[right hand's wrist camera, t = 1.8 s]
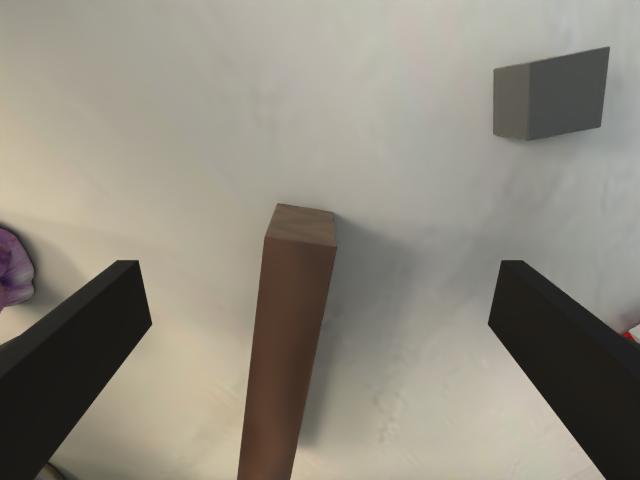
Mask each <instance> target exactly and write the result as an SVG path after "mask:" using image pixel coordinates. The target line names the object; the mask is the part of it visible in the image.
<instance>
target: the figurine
mask: <svg viewBox="0 0 640 480" xmlns="http://www.w3.org/2000/svg"><path fill="white" fill-rule="evenodd" d="M33 277H34V269H33V265H32V263H31V261H30V259H29V257H28V255H27V253H26V251H25V249H24V248H23V247H22V245H21V243H19V240H18V239H17V237H16V236H14V235H13V234H11V233H10V232H9V231H7V230H4V229H1V228H0V313H1V311H2V309H3V308H4V307H7V306H12V305H15V304H18V303H19V302H21V301H24V300H26V299H29V298H30V297H32V296H33V294H34V288H33V284H32V281H31V280H32V278H33Z"/></svg>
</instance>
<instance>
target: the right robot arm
mask: <svg viewBox="0 0 640 480" xmlns="http://www.w3.org/2000/svg"><path fill="white" fill-rule="evenodd" d="M151 325H152V321H151V316H150V312H149V307H148V302H147V298H146V293H145V288H144V284H143V279H142V275H141V270H140V265H139V261H138V260H117V261H116V262H114V263H113V264H112V265H111V266H109V267H108V268H107V269H105V270H104V271H103V272H101V273H100V274H99V275H98V276H96V277H95V278H94V279H92V280H91V281H90V282H88V283H87V284H86V285H85V286H83V287H82V288H81V289H79V290H78V291H77V292H75V293H74V294H73V295H72V296H70V297H69V298H68V299H66V300H65V301H64V302H63V303H61V304H60V305H59V306H57V307H56V308H55V309H53V310H52V311H51V312H50V313H48V314H47V315H46V316H44V317H43V318H42V319H40V320H39V321H38V322H37V323H35V324H34V325H33V326H31V327H30V328H29V329H27V330H26V331H25V332H24V333H22V334H21V335H20V336H17V337H15V338H13V339H11V340H10V341H8V342H6V343H4V344H2V345H0V480H34V479H35V478H36V476H37V475H38V474H39V472H40V471H41V470H42V468H43V467H44V466H45V464H46V463H47V462H48V460H49V459H50V458H51V457H52V455H53V454H54V453H55V451H56V450H57V449H58V447H59V446H60V445H61V443H62V442H63V441H64V439H65V438H66V437H67V436H68V434H69V433H70V432H71V430H72V429H73V428H74V426H75V425H76V424H77V422H78V421H79V420H80V418H81V417H82V416H83V415H84V413H85V412H86V411H87V409H88V408H89V407H90V405H91V404H92V403H93V401H94V400H95V399H96V397H97V396H98V395H99V394H100V392H101V391H102V390H103V388H104V387H105V386H106V384H107V383H108V382H109V380H110V379H111V378H112V376H113V375H114V374H115V372H116V371H117V370H118V369H119V367H120V366H121V365H122V363H123V362H124V361H125V359H126V358H127V357H128V355H129V354H130V353H131V351H132V350H133V349H134V348H135V346H136V345H137V344H138V342H139V341H140V340H141V338H142V337H143V336H144V334H145V333H146V332H147V330H148V329H149V328H150V327H151ZM488 325H489V327H490V328H491V329H492V330H493V332H494V333H495V334H496V336H497V337H498V338H499V340H500V341H501V342H502V344H503V345H504V346H505V348H506V349H507V350H508V351H509V353H510V354H511V355H512V357H513V358H514V359H515V361H516V362H517V363H518V365H519V366H520V367H521V369H522V370H523V371H524V373H525V374H526V375H527V376H528V378H529V379H530V380H531V382H532V383H533V384H534V386H535V387H536V388H537V390H538V391H539V392H540V394H541V395H542V396H543V397H544V399H545V400H546V401H547V403H548V404H549V405H550V407H551V408H552V409H553V411H554V412H555V413H556V415H557V416H558V417H559V418H560V420H561V421H562V422H563V424H564V425H565V426H566V428H567V429H568V430H569V432H570V433H571V434H572V436H573V437H574V438H575V439H576V441H577V442H578V443H579V445H580V446H581V447H582V449H583V450H584V451H585V453H586V454H587V455H588V457H589V458H590V459H591V460H592V462H593V463H594V464H595V466H596V467H597V468H598V470H599V471H600V472H601V474H602V475H603V476H604V478H605V479H606V480H640V344H639V343H637V342H635V341H633V340H631V339H629V338H628V337H626V336H624V335H619V334H618V333H616V332H615V331H614V330H613V329H611V328H610V327H609V326H607V325H606V324H605V323H603V322H602V321H601V320H600V319H598V318H597V317H596V316H594V315H593V314H592V313H590V312H589V311H588V310H587V309H585V308H584V307H583V306H581V305H580V304H579V303H577V302H576V301H575V300H574V299H572V298H571V297H570V296H568V295H567V294H566V293H565V292H563V291H562V290H561V289H559V288H558V287H557V286H555V285H554V284H553V283H552V282H550V281H549V280H548V279H546V278H545V277H544V276H542V275H541V274H540V273H539V272H537V271H536V270H535V269H533V268H532V267H531V266H529V265H528V264H527V263H526V262H524V261H523V260H502V261H501V265H500V270H499V275H498V279H497V284H496V288H495V293H494V298H493V302H492V307H491V312H490V316H489V321H488Z"/></svg>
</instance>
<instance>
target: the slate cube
mask: <svg viewBox="0 0 640 480" xmlns="http://www.w3.org/2000/svg"><path fill="white" fill-rule="evenodd" d="M609 51H610V47H603V48H598V49H592V50H587V51H582V52H576V53H571V54H566V55H560V56H555V57H550V58H545V59H540V60H535V61H530V62H525V63H520V64H515V65H510V66H505V67H500V68H495V69H494V131H493V134H494V135H500V136H505V137H510V138H515V139H521V140H526V141H529V140H535V139H540V138H545V137H551V136H556V135H562V134H567V133H572V132H578V131H583V130H588V129H594V128H599V127H600V126H601V119H602V111H603V102H604V94H605V85H606V77H607V68H608V60H609Z"/></svg>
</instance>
